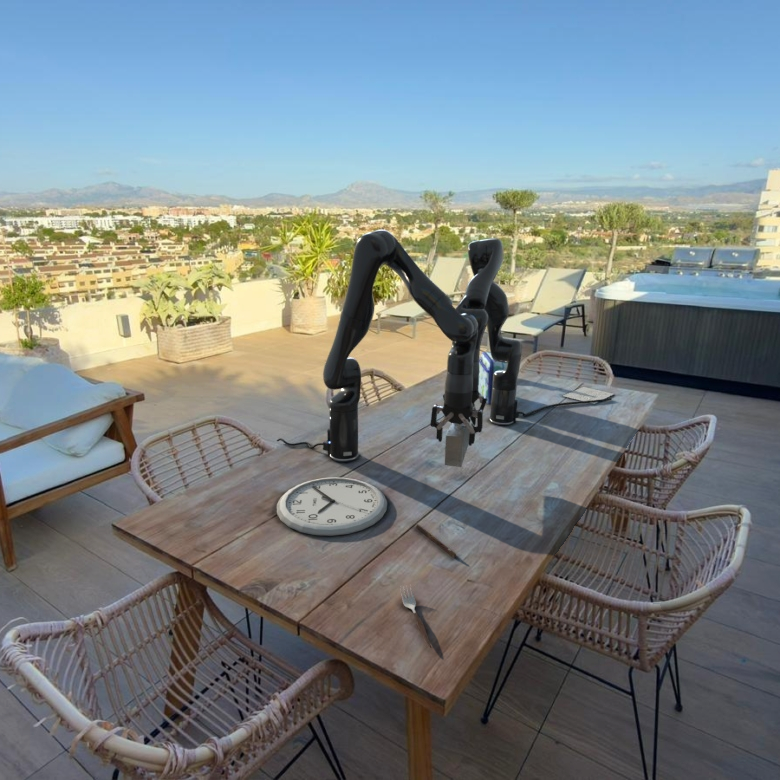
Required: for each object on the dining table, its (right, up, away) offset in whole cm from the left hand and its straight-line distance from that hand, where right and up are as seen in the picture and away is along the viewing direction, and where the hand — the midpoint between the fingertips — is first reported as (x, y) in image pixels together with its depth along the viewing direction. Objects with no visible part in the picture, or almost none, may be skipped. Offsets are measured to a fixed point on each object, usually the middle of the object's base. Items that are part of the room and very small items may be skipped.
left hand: (455, 442), depth 147 cm
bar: (+2, -3, +10) cm, 11 cm away
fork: (-13, -30, -46) cm, 56 cm away
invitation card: (+73, +12, +94) cm, 120 cm away
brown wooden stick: (-8, -22, -20) cm, 31 cm away
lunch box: (+27, +11, +86) cm, 91 cm away
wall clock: (-34, -17, -4) cm, 38 cm away
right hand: (+5, +4, +16) cm, 17 cm away
